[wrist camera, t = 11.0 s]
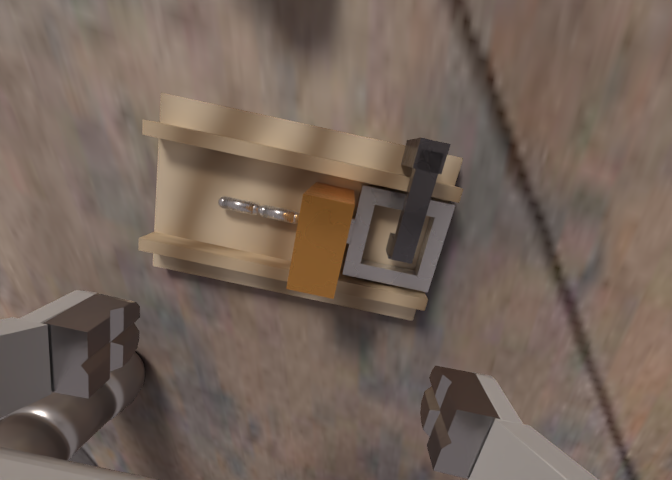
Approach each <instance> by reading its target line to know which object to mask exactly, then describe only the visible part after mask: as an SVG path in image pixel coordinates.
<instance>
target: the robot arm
mask: <svg viewBox="0 0 672 480" xmlns="http://www.w3.org/2000/svg"><path fill="white" fill-rule="evenodd" d="M139 318H140V306H139V305H138V304H137V303H136V302H134V301H129V300H125V299H121V298H116V297H112V296H108V295H103V294H99V293H95V292H90V291H85V290H75V291H73V292H71V293H69V294H67V295H65V296H63V297H61V298H59V299H57V300H55V301H53V302H51V303H49V304H47V305H45V306H43V307H41V308H39V309H37V310H35V311H33V312H31V313H29V314H27V315H25V316H23V317H21V318H19V319H18V318H13V317H11V318H6V319H1V320H0V418H1V417H3V416H6V415H8V414H10V413H12V412H14V411H16V410H18V409H21V408H23V407H25V406H27V405H29V404H31V403H34V402H36V401H38V400H40V399H42V398H44V397H46V396H49V395H51V394H52V392H54V393H60V394H65V395H71V396H77V397H82V398H88V399H89V398H90V397H91V396H92V395H93V394H94V393H95V392H96V391H97V390H98V389H99V388H101V387H102V386H103V385H104V384H105V383H106V382H107V381H108V380H109V379H110V371H113V370H115V369H118V368H121V367H123V366H124V365H125V364H126V363H127V362H128V361H129V360H130V359H131V357H132V356H133V354H134V352H135V351H136V349H137V346H138V342H139V330H138V328H137V327H136V325H135V324H134V323H135V322H136V321H137V320H138V319H139ZM429 379H430V382H431V385H432V386H431V387H430V388H429V389H427V390H426V391H425V392H424V395H423V398H422V401H421V411H420V414H421V423H422V427H423V430H424V431H425V432H426V433H427V435H428V436H429V437H430V438H429V441H428V443H427V447H428V451H429V455H430V459H431V463H432V467H433V471H438V472H442V473H446V474H450V475H454V476H458V477H463V478H467V479H469V480H598V479H597V478H596V477H594V476H593V475H592V474H591V473H589V472H588V471H587V470H585V469H584V468H583V467H582V466H580V465H579V464H578V463H577V462H575V461H574V460H573V459H571V458H570V457H569V456H568V455H566V454H565V453H564V452H563V451H561V450H560V449H559V448H557V447H556V446H555V445H554V444H552V443H551V442H550V441H549V440H547V439H546V438H545V437H543V436H542V435H541V434H540V433H538V432H537V431H536V430H535V429H533V428H532V427H531V426H529V425H524V424H523V423H522V421H521V420H520V418H519V416H518V415H517V413H516V412H515V410H514V408H513V407H512V405H511V404H510V402H509V400H508V399H507V397H506V396H505V394H504V392H503V391H502V389H501V388H500V386H499V384H498V383H497V381H496V380H495V378H493V377H492V376H490V375H485V374H479V373H474V372H466V371H461V370H456V369H451V368H445V367H440V366H435V367H434V368H433V369H432V372H431V374H430V377H429ZM0 480H159V479H154V478H149V477H144V476H140V475H135V474H130V473H125V472H120V471H115V470H111V469H106V468H101V467H96V466H91V465H86V464H82V463H77V462H72V461H67V460H62V459H57V458H53V457H48V456H43V455H38V454H33V453H29V452H24V451H19V450H14V449H9V448H4V447H0Z"/></svg>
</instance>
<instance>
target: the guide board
mask: <svg viewBox="0 0 672 480" xmlns="http://www.w3.org/2000/svg"><path fill="white" fill-rule="evenodd" d="M142 134H143V135H147V136H152V137H156V138H159V146H158V167H157V187H156V208H155V229H154V232H153V233H150V234H148V235H145V236H143V237H140V238H139V250H140V251H145V252H150V253H153V266H156V267H161V268H166V269H170V270H175V271H180V272H185V273H189V274H194V275H199V276H203V277H208V278H213V279H218V280H222V281H227V282H232V283H236V284H241V285H246V286H251V287H255V288H260V289H265V290H269V291H274V292H279V293H284V294H288V295H293V296H298V297H302V298H307V299H312V300H317V301H321V302H326V303H331V304H335V305H340V306H345V307H350V308H354V309H359V310H364V311H368V312H373V313H378V314H383V315H387V316H392V317H397V318H401V319H406V320H411V321H413V318H414V315H415V312H416V309H418V310H423V311H425V308H426V304H427V301H428V299H427V297H426V295H425V293H424V292H423V291H418V290H414V289H409V288H404V287H400V286H395V285H390V284H385V283H381V282H376V281H371V280H367V279H362V278H357V277H353V276H348V275H343V274H342V273H343V266H344V261H345V257H346V253H347V248H348V243H346V247H345V251H344V256H343V260H342V264H341V269H340V273H339V278H338V282H337V286H336V291H335V295H334V299H331V298H326V297H321V296H317V295H312V294H307V293H303V292H298V291H293V290H289V289H286V287H287V281H288V276H289V270H290V264H291V259H292V253H293V248H294V242H295V236H296V231H297V225H298V223H297V224H292V223H288V222H283V221H278V220H274V219H269V218H264V217H262V216H260V215H259V214H258V215H250V214H246V213H241V212H236V211H232V210H227V209H223V208H221V207H220V206H219V205H218V200H219V198H220V197H222V196H227V197H232V198H237V199H241V200H246V201H251V202H255V203H258V204H259V205H260V206H262V205H269V206H274V207H279V208H283V209H288V210H293V211H297V212H299V213H300V208H301V203H302V197H303V193H305V192H306V191H307V190H308V189H309V188H310V187H311V186H312V185H314V184H315V183H316V182H319V183H324V184H329V185H333V186H338V187H343V188H347V189H352V190H354V195H355V207H354V211H353V216H355V213H356V209H357V205H358V200H359V196H360V192H361V187H362V184H366V185H370V186H375V187H380V188H384V189H389V190H394V191H398V192H403V193H406V192H407V188H408V184H409V181H410V177H411V173H412V169H413V168H411V167H407V166H404V165H401V162H402V159H403V155H404V151H405V147H406V146H404V145H400V144H395V143H391V142H386V141H381V140H377V139H372V138H368V137H363V136H358V135H354V134H349V133H345V132H340V131H335V130H331V129H326V128H322V127H317V126H312V125H308V124H303V123H299V122H294V121H289V120H285V119H280V118H275V117H271V116H266V115H262V114H257V113H252V112H248V111H243V110H239V109H234V108H229V107H225V106H220V105H216V104H211V103H206V102H202V101H197V100H193V99H188V98H183V97H179V96H174V95H169V94H165V93H161V104H160V122H155V121H148V120H143V133H142ZM462 160H463V158H460V157H455V156H451V155H447V157H446V161H445V164H444V167H443V171H442V174H438V176H437V180H436V183H435V186H434V190H433V193H432V197H431V199H435V200H440V201H445V202H450V201H453V202H458V203H459V201H460V198H461V195H462V192H463V189H462V188H459V187H456V186H455V183H456V180H457V177H458V173H459V170H460V167H461V164H462ZM400 214H401V210H397V209H393V208H388V207H384V206H379V205H375V206H374V210H373V214H372V218H371V222H370V226H369V231H368V235H367V239H366V243H365V247H364V251H363V255H362V259H364V260H369V261H373V262H378V263H383V264H387V265H392V266H397V267H401V268H406V269H411V270H415V267H416V263H417V260H418V257H419V253H420V250H421V247H422V243H423V240H424V236H425V233H426V230H427V226H428V223H429V220H430V216H426V217H425V221H424V224H423V227H422V231H421V234H420V238H419V241H418V244H417V248H416V251H415V255H414V258H413V262H412V264H410V263H406V262H401V261H396V260H391V259H388V256H387V253H386V246H387V243H388V239H389V235H390V233H395V232H396V229H397V225H398V221H399V218H400Z"/></svg>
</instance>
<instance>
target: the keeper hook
mask: <svg viewBox="0 0 672 480" xmlns="http://www.w3.org/2000/svg"><path fill="white" fill-rule="evenodd" d="M449 147H450V144H447V143H442V142H438V141H433V140H429V139H424V138H417V139H412V140H407V143H406V147H405V151H404V155H403V159H402V162H401V165H404V166H407V167H411V168H413V169H412V173H411V177H410V181H409V184H408V188H407V192H406V195H405V199H404V203H403V207H402V210H401V214H400V218H399V221H398V225H397V229H396V232H395V233H390V235H389V239H388V243H387V246H386V253H387V256H388V259H391V260H396V261H401V262H406V263H410V264H412V262H413V258H414V255H415V251H416V248H417V244H418V241H419V238H420V234H421V231H422V227H423V224H424V221H425V217H426V214H427V210H428V207H429V204H430V200H431V197H432V193H433V190H434V186H435V183H436V180H437V176H438V174H442V171H443V167H444V164H445V161H446V157H447V154H448V151H449Z"/></svg>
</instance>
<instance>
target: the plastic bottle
mask: <svg viewBox="0 0 672 480" xmlns="http://www.w3.org/2000/svg"><path fill="white" fill-rule="evenodd" d="M144 380H145V368H144V364H143V362H142V360H141V358H140V357H139V356H138V355H137V353H135V352H134V354H133V356H132V357H131V359H130V360H129V361H128V362H127V363H126V364H125V365H124V366H123V367H121V368H118V369H115V370H113V371H110V379H109V380H108V381H107V382H106V383H105V384H104V385H103V386H102V387H101V388H99V389H98V390H97V391H96V392H95V393H94V394H93V395H92V396H91V397H90V398H89V399H88V398H82V397H77V396H71V395H65V394H60V393H54V392H52V394H51V395H49V396H46V397H44V398H42V399H40V400H38V401H36V402H34V403H31V404H29V405H27V406H25V407H23V408H21V409H18V410H16V411H14V412H12V413H10V414H9V415H7V416H6V417H5V418H4V419H2V420H0V447H4V448H9V449H14V450H19V451H24V452H29V453H33V454H38V455H43V456H48V457H53V458H57V459H62V460H67V461H69V460H70V459H71V457H72V456H73V455H74V454H75V453H76V452H77V450H78V449H79V448H80V447H81V446H82V445H84V444H85V443H86V442H87V441H88V440H89V439H90V438H91V437H92V436H93V435H94V434H95V433H96V432H97V431H98V430H99V429H101V428H102V427H103V426H104V425H105V424H106V423H107V422H108V421H109V420H111V419H112V418H114V417H115V416H116V415H118V414H119V413H120V412H121V411H122V410H124V409H125V408H126V407H127V406H128V405H129V404H130V403H132V402H133V401H134V399H135V398H136V396H137V394H138V393H139V391H140V390H141V388H142V386H143V384H144Z"/></svg>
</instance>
